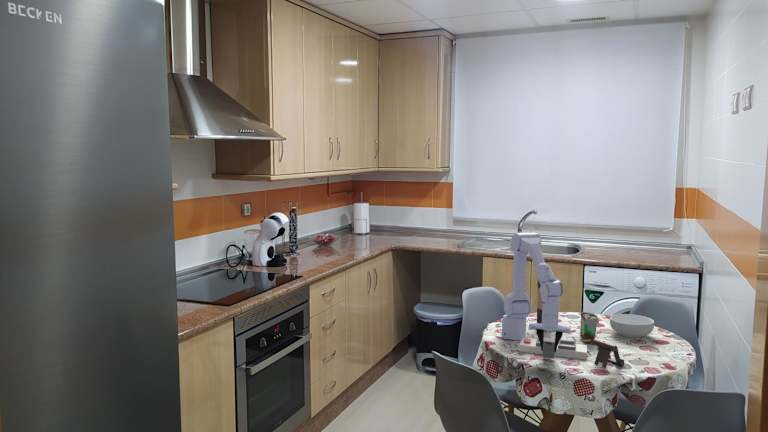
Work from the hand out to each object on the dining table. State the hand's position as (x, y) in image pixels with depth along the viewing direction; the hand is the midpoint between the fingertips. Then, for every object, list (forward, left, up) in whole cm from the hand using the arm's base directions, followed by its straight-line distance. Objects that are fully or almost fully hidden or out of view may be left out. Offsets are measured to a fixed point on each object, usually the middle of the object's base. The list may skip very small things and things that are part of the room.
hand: (548, 350), depth 215 cm
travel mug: (-4, +40, -4) cm, 40 cm away
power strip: (+1, +10, -3) cm, 11 cm away
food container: (+14, +29, -4) cm, 33 cm away
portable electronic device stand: (+20, +3, -4) cm, 21 cm away
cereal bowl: (+30, +42, -4) cm, 52 cm away
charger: (0, 0, -2) cm, 2 cm away
